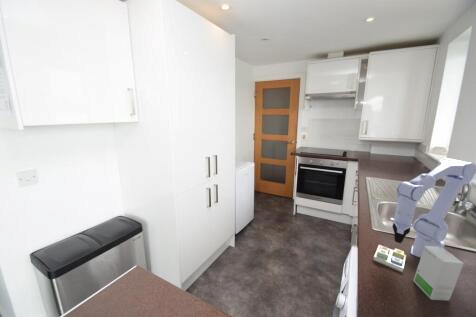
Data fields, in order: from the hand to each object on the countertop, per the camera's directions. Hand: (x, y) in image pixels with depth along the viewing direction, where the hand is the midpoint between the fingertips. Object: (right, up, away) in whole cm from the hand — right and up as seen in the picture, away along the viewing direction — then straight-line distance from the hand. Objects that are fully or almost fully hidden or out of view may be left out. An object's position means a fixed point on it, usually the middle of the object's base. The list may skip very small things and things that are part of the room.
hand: (397, 241), depth 87 cm
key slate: (-1, -9, -1) cm, 9 cm away
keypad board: (-1, -9, +3) cm, 10 cm away
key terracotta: (-2, -7, +6) cm, 10 cm away
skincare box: (+3, -13, -12) cm, 18 cm away
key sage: (-5, -7, +2) cm, 9 cm away
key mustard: (+2, -7, +3) cm, 8 cm away
